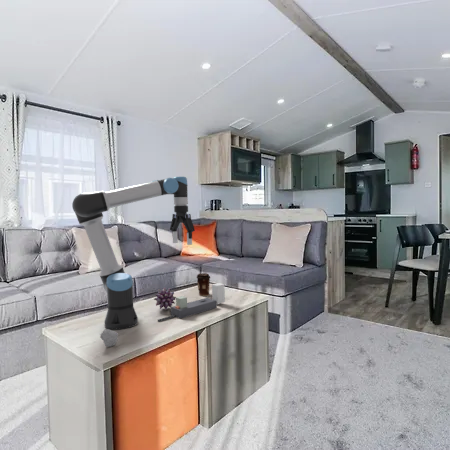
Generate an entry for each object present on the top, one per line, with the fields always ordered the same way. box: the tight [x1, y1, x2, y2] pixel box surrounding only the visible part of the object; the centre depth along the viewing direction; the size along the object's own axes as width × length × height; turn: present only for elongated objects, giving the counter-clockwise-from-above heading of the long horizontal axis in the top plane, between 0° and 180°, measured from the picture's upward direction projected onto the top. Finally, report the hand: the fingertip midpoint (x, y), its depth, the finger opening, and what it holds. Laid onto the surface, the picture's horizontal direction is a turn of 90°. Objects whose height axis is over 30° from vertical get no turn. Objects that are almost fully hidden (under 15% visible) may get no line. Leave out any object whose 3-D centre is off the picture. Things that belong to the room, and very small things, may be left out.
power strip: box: [157, 297, 218, 323], centre depth 175 cm, size 34×8×5 cm, turn 132°
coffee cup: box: [196, 272, 211, 297], centre depth 210 cm, size 9×8×13 cm
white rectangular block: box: [211, 282, 226, 306], centre depth 189 cm, size 5×5×11 cm
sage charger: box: [175, 295, 188, 309], centre depth 172 cm, size 4×4×5 cm
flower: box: [153, 287, 176, 311], centre depth 182 cm, size 12×12×12 cm
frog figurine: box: [99, 328, 119, 348], centre depth 136 cm, size 6×7×7 cm
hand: (182, 243), depth 186 cm, fingers open, 13 cm apart
